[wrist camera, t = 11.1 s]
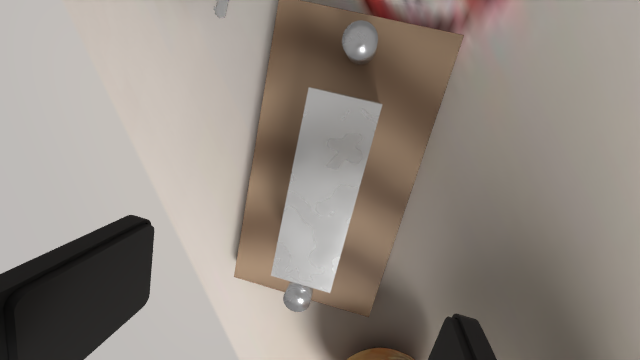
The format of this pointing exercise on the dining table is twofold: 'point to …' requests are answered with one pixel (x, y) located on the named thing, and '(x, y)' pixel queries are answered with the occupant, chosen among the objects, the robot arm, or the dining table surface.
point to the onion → (380, 355)
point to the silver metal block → (324, 186)
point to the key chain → (221, 8)
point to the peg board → (386, 149)
